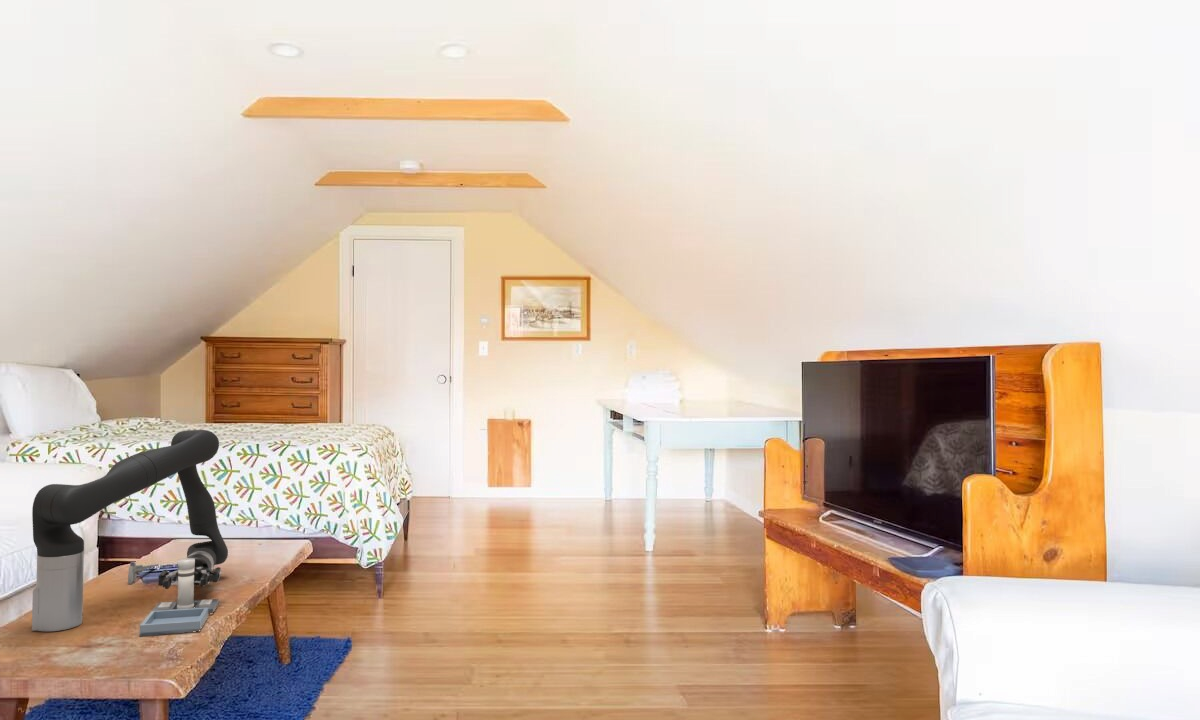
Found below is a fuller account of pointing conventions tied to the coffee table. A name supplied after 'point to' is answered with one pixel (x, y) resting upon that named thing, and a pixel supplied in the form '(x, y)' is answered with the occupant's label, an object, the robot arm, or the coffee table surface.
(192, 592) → the fuse
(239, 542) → the coffee table surface
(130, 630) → the coffee table surface
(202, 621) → the parts tray
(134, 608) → the coffee table surface
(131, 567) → the caliper
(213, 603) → the block
